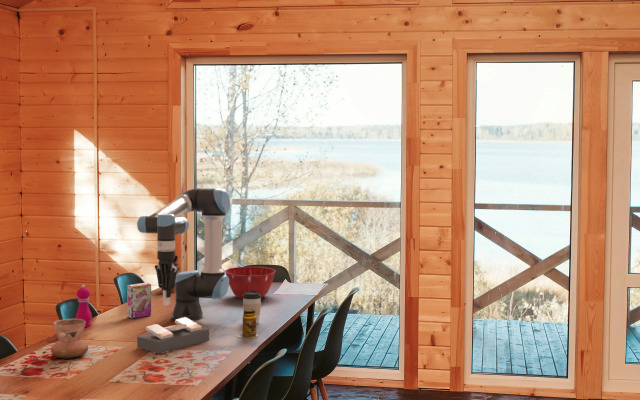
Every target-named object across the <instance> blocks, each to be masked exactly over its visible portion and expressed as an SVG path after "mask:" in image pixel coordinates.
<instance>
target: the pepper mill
mask: <svg viewBox="0 0 640 400" xmlns="http://www.w3.org/2000/svg"><path fill="white" fill-rule="evenodd" d="M80 287H81V288H78V289H77V291H76V296H77V298H78V299H77V302H78V308H77V312H76V314H75V319H82V320H84V321H85V327H87V328H90V327H91V326H92V322H91V320H92V318H93V316H92V312H91V309H90V307H89V302H90V296H91V291H90V289H89V288H86V285H85V284H82V285H81V286H80ZM89 326H90V327H89ZM85 327H84V329H86V328H85Z"/></svg>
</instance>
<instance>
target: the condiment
mask: <svg viewBox="0 0 640 400" xmlns="http://www.w3.org/2000/svg"><path fill="white" fill-rule="evenodd" d="M242 315H243V316H242V333H240V334H239V335H237V336H236V338H243V339H255V338H257V337H258V336H260V333H259V334H258V333H257V324H256V316H255V310H253V309H246V310H243V314H242Z"/></svg>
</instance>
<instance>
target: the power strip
mask: <svg viewBox="0 0 640 400" xmlns="http://www.w3.org/2000/svg"><path fill="white" fill-rule="evenodd" d="M171 333H173V337H170V338H166V339H162V340H161V339H160V338H158V337H157V336H152V333H150V332H149V333H146V334H142V335H138V336H137V337H136V339H137V340H136V346H137V347H138V348H137V347H136V348H137V349H139V348H141V349H140V350H142V349H145V350H144V351H146V350H147V351H146V352H149V351H151V352H150V353H153V352H155V353H154V354H156V353H158V355H160V354H159V353H161V354H163V353H162V352H164V353H167V352H166V351H168V352H171V350H172V351H174V350H175V351H176V350H179V349H182V347H183V348H185V347H190V346H194V345H197V344H200V343H204V342H208V341H210V328H207V327H203V326H202V329H201V330H197V331H193V332H190V331H188V330H187V329H180V330H178V331H174V332H171Z"/></svg>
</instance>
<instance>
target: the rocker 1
mask: <svg viewBox="0 0 640 400" xmlns="http://www.w3.org/2000/svg"><path fill="white" fill-rule="evenodd" d="M144 330H145V331H147V332H149V334H150V333H152V336H157V337H158V338H160V339H161V340H162V339H166V338H170V337H173V333H171V332H170V331H168V330H166V329H165V328H164V327H163V326H161V325H160V324H158V323H155V324H151V325H147V326H145V329H144Z"/></svg>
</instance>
